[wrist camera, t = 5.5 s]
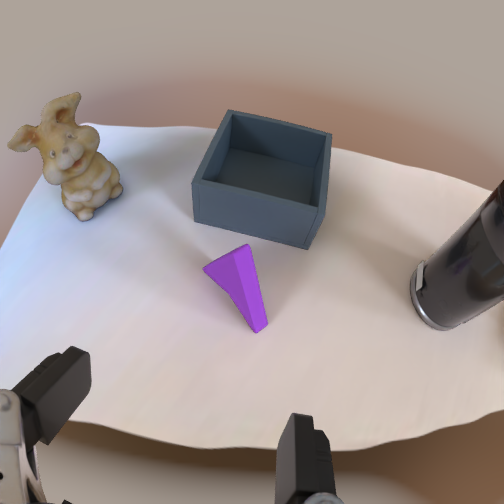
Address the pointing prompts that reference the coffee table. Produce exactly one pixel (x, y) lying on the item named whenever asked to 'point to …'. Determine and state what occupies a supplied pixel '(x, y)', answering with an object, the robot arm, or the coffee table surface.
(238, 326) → the coffee table surface
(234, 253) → the arrowhead
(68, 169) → the figurine
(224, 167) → the bin
